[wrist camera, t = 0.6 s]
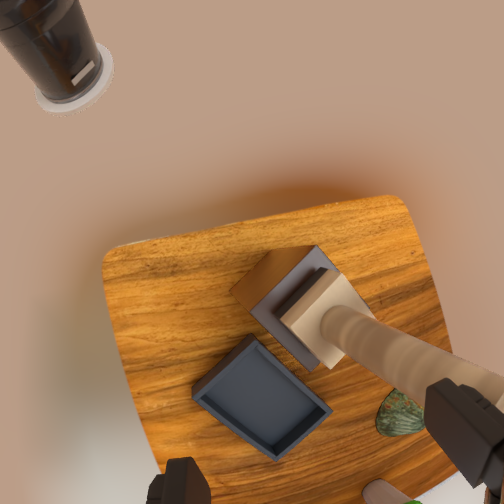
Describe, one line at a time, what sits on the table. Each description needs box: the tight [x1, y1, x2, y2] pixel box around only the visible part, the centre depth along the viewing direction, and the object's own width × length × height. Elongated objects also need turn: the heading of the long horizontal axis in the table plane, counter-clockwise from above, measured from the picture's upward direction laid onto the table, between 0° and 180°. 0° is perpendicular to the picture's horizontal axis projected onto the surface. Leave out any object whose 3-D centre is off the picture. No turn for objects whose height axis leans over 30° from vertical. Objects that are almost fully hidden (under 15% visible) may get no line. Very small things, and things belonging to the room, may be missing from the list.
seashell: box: [376, 388, 426, 437], centre depth 39 cm, size 10×4×10 cm
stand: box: [229, 245, 370, 372], centre depth 30 cm, size 7×7×14 cm
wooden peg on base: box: [274, 267, 504, 413], centre depth 15 cm, size 5×5×16 cm
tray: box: [191, 333, 333, 462], centre depth 35 cm, size 14×10×3 cm
